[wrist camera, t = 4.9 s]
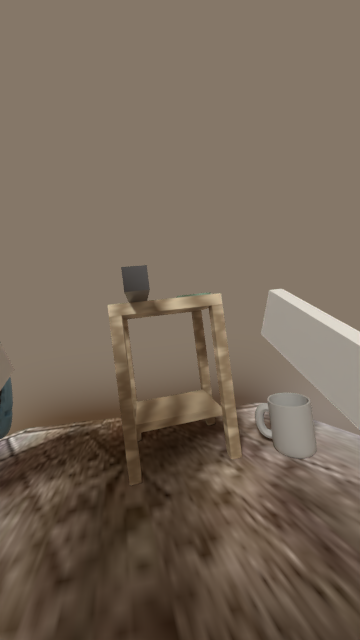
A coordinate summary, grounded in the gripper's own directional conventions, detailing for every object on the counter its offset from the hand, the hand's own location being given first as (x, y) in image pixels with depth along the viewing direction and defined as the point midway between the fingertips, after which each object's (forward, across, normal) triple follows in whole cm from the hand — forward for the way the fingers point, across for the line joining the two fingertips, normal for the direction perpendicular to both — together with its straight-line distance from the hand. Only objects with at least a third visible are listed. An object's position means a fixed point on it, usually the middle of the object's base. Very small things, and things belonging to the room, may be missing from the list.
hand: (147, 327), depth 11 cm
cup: (+10, +24, -36) cm, 44 cm away
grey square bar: (+27, 0, -10) cm, 29 cm away
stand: (+17, +5, -39) cm, 43 cm away
